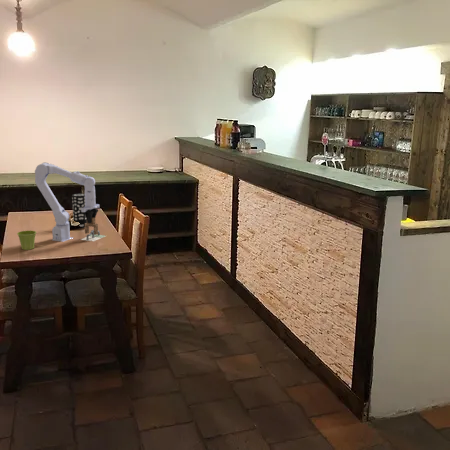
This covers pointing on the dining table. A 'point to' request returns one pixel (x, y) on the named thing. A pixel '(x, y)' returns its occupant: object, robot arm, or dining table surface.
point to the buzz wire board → (91, 238)
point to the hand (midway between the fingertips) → (91, 222)
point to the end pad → (98, 236)
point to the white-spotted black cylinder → (79, 209)
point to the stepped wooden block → (91, 226)
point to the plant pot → (27, 239)
